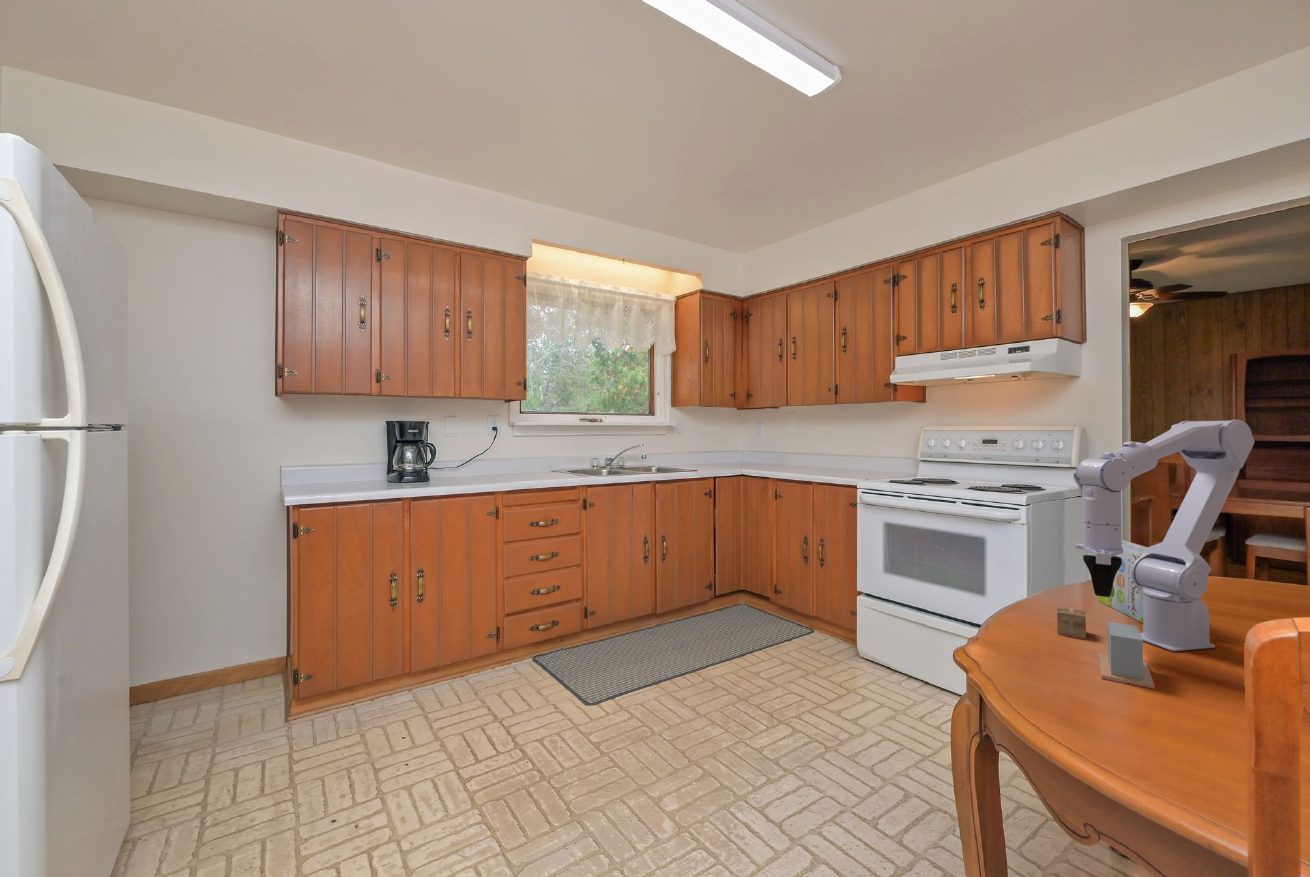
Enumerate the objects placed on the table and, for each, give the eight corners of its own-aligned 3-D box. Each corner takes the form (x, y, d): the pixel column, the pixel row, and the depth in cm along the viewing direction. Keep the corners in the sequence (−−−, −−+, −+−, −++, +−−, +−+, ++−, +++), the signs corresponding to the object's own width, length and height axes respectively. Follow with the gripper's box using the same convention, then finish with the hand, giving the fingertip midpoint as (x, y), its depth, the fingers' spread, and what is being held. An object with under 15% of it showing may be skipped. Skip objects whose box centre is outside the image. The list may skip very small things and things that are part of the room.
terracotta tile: (1098, 656, 100) (1098, 652, 100) (1145, 664, 97) (1145, 660, 97) (1101, 678, 92) (1101, 674, 92) (1154, 688, 88) (1154, 684, 88)
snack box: (1189, 634, 110) (1189, 558, 110) (1157, 632, 112) (1156, 557, 111) (1123, 601, 131) (1122, 538, 131) (1096, 600, 132) (1095, 537, 132)
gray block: (1111, 674, 92) (1110, 635, 92) (1107, 657, 98) (1107, 621, 98) (1143, 680, 89) (1142, 640, 89) (1137, 663, 96) (1137, 625, 96)
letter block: (1057, 627, 115) (1057, 605, 115) (1085, 632, 112) (1084, 609, 112) (1057, 634, 111) (1057, 611, 111) (1085, 639, 109) (1085, 616, 109)
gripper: (1075, 516, 112) (1075, 583, 112) (1074, 526, 100) (1075, 601, 100) (1120, 519, 108) (1121, 588, 108) (1125, 530, 96) (1126, 608, 96)
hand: (1102, 595), depth 104 cm, fingers closed
